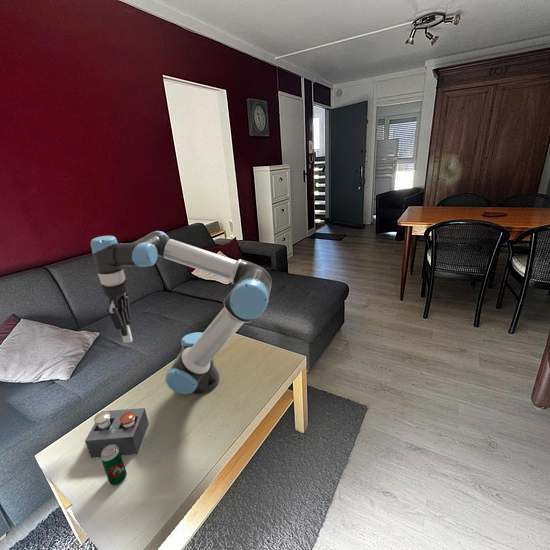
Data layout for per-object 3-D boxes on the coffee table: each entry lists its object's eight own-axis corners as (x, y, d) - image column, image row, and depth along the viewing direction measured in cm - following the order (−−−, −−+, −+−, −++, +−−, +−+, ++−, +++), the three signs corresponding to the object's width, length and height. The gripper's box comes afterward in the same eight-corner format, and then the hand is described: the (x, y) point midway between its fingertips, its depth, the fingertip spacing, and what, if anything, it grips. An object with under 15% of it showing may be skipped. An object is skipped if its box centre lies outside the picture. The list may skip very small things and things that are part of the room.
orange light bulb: (140, 428, 107) (136, 411, 104) (136, 439, 103) (131, 421, 100) (127, 429, 107) (122, 412, 104) (122, 440, 103) (117, 423, 100)
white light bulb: (117, 427, 106) (111, 410, 103) (111, 439, 102) (106, 421, 99) (103, 428, 106) (98, 411, 103) (97, 440, 102) (91, 422, 99)
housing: (148, 424, 112) (144, 407, 109) (137, 454, 101) (132, 436, 98) (107, 427, 111) (101, 411, 108) (91, 458, 100) (84, 440, 97)
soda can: (113, 471, 95) (104, 443, 91) (129, 469, 96) (121, 442, 91) (106, 487, 91) (96, 459, 86) (123, 485, 91) (114, 457, 87)
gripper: (110, 275, 108) (124, 332, 116) (92, 290, 95) (109, 352, 104) (131, 274, 108) (144, 330, 117) (117, 289, 96) (132, 351, 105)
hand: (128, 341), depth 111 cm, fingers closed
